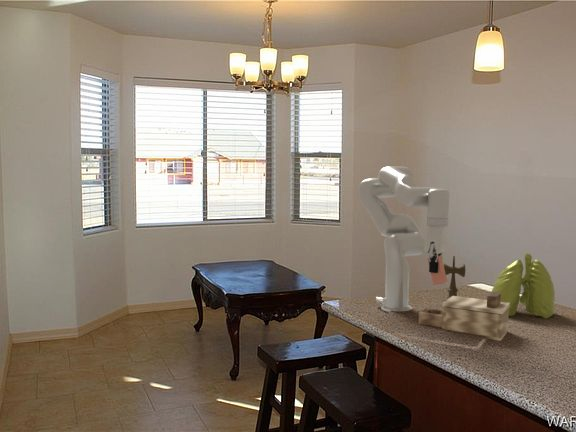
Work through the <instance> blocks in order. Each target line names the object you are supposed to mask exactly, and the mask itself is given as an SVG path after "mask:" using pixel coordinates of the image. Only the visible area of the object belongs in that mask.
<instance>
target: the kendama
mask: <svg viewBox="0 0 576 432" xmlns="http://www.w3.org/2000/svg"><path fill="white" fill-rule="evenodd" d="M455 257H456V256H455V255H453V258H452V266H450V265H447V264H446V263H443V265H444V269H445V274H446V276H447V275H449V274H451V276H450V277H451V278H450V284H449V287H448V288H447V292H448V296H447V297H446V300H447V299H449V298H450V297H452V296H458V292H459V289H458V288H457V285H456V284H457V283H456V274H457V275H459V276H460V277H462V278H465V276H466V265H465V264H466V263H462V264H460V265H458V266H456V258H455Z"/></svg>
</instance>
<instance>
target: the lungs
mask: <svg viewBox="0 0 576 432" xmlns="http://www.w3.org/2000/svg"><path fill="white" fill-rule="evenodd" d="M523 257H524V259H523V260H524V264H523V261H522V260H520V259H517V260H515V261H513V262H512V263H511V264H509V265H507V266H506V267H505V268H504V269H503V270H502V271H501V272H500V273H499V274H498V276H497V279H496V281H495V282H494V284H493V287H492V289H491V292H492V291H493V292H501V302H506V303H510V306H509V317H512V316H515V315H516V314H517V310H518V305H519V303H520V304H521V305H522V306H524V307H525V310H526V312H527V313H528V314H532V315H535V316H537V317H538V316H540V317H541V318H543V319H548V318H550V317H552V316H553V315H554V314H555V312H556V309H555V308H556V307H555V301H556V297H555V296H556V291H555V287H554V286H555V285H554V283H553V281H552V277H551V275H550V272H549V271H548V269H547V268H546V267H545V265H544V264H543V263H542V262H541V261H540V260H539V259H534V260H533V261H532V258H533V256H532V255H531V253H525V254H524V256H523ZM524 268H525V270H524ZM524 271H525V273H524V276H523V272H524ZM521 288H523V289H521ZM522 290H523V291H522ZM521 291H522V293H521ZM520 295H521V296H520Z"/></svg>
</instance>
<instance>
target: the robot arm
mask: <svg viewBox="0 0 576 432" xmlns="http://www.w3.org/2000/svg"><path fill="white" fill-rule="evenodd" d="M414 183H415V182H414V173H413V171H412V170H411V169H410V167H407V166H405V165H404V166H401V165H400V166H396V165H394V166H392V165H390V166H385V167H382V168H381V169H380V170H379V171H378V174H377V177H371V178H366V179H363V180H362V181H361V182H360V183H359V186H358V199H359V200H360V203H361V205H362V206H363V208H364V209H365V210H366V211H367V214H369V216H370V217H371V219H372V221H373V224H374V225H375V227H376V229H377V230H378V232H379V233H380V234H381V236H383V237H385V238H384V240H383V241H384V242H383V248H384V255H385V285H384V289H385V291H384V293H385V294H384V297H381V296H380V297H378V296H376V298H375V302H376V303H378V304H382V305H380V308H381V309H380V310H382V311H383V312H387V313H390V312H391V311H392V312H409V311H411V310H413V307H412V305H409V296H410V295H409V293H410V291H409V290H410V265H409V263H408V261H407V259H406V257H411V256H412V257H413V256H420V255H422V254H424V253H426V254H428V256H429V257H428V258H430V259H429V263H428V266H429V268H428V272H429V273H430V274H431V273H438V256H440V255H441V256H442V257H443V253H444V252H445V251H446V247H447V246H446V244H447V243H446V241H447V237H446V236H447V229H446V228H448V227H449V207H450V205H449V204H450V192H449V190H448V189H446V188H437V187H432V186H416V187H415V185H414ZM394 197H395V199H396V200H397V201H398V202H399V203H400V204H403V205H404V206H406V207H408V208H427V211H426V212H427V213H426V215H427V216H426V226H427V230H426V238H425V236H424V235H423V233H422V231H421V229H420V228H419V226H418V225H417V223H416V221H415V220H414V218H413V217H412V216H410V214H407V213H406V214H405V213H393V212H392V210H391V209H390V207H389V206H388V205H387V204H386V203H385V201H383V200H382V198H394ZM380 198H381V199H380ZM435 256H436V258H435Z"/></svg>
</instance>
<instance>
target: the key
mask: <svg viewBox="0 0 576 432" xmlns="http://www.w3.org/2000/svg"><path fill="white" fill-rule="evenodd" d="M435 258H436V256H435ZM429 259H430V257H427V261H428V264H429ZM443 264H444V262H443V255H442V256H441V255H440V256H438V273H431V272H430V275H431V280H432V284H433V286H438V285H443V284H446V283H447V282H448V279H447V275H446V274H445V269H444V265H443Z"/></svg>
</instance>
